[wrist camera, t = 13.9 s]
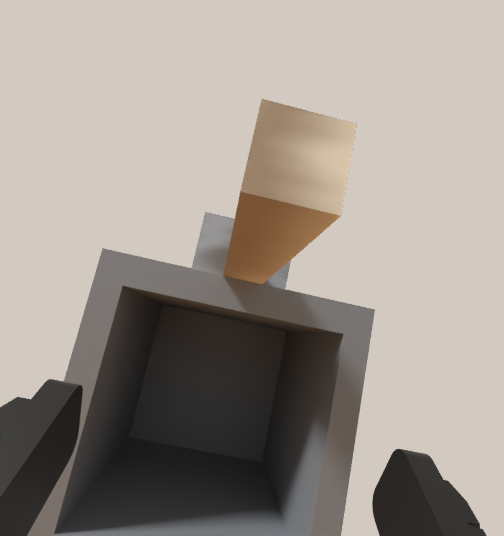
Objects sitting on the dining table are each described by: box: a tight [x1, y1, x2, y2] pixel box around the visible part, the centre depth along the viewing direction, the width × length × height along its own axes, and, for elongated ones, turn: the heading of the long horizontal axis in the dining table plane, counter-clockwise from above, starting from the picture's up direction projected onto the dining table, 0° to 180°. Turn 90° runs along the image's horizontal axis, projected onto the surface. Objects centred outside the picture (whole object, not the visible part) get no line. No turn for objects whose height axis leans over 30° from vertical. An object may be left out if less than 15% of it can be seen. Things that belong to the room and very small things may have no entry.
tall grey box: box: [27, 249, 375, 536], centre depth 31 cm, size 18×20×32 cm
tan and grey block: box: [192, 99, 357, 289], centre depth 24 cm, size 8×28×6 cm, turn 6°
